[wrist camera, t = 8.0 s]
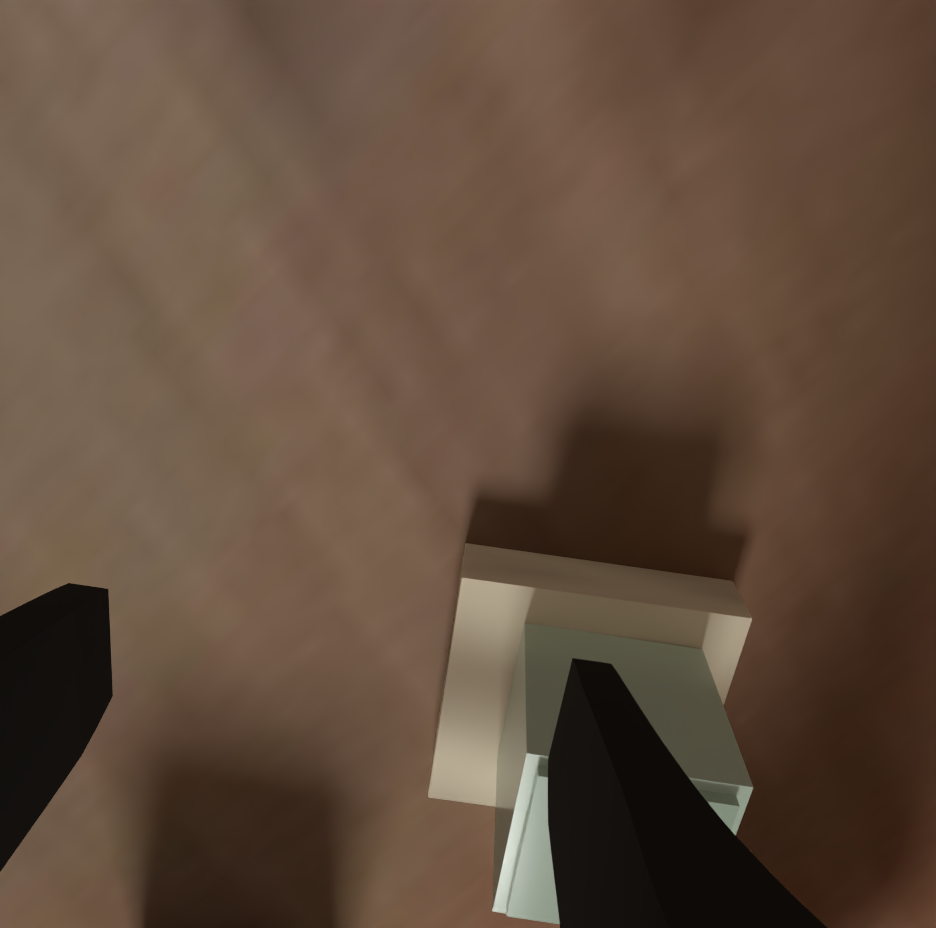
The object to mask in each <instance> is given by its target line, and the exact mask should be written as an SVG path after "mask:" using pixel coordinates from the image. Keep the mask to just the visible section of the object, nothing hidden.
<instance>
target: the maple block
mask: <svg viewBox="0 0 936 928" xmlns="http://www.w3.org/2000/svg"><path fill="white" fill-rule="evenodd" d="M751 621H752V617H751V615H750V613H749V611H748V609H747V607H746V605H745V603H744V601H743V599H742V598H741V596H740V594H739V592H738V590H737V588H736V586H735V584H734V582H733V581H730V580H723V579H716V578H708V577H701V576H694V575H687V574H680V573H673V572H666V571H659V570H652V569H645V568H638V567H631V566H624V565H617V564H610V563H603V562H596V561H589V560H581V559H574V558H567V557H560V556H553V555H546V554H539V553H532V552H525V551H518V550H511V549H504V548H497V547H490V546H483V545H476V544H469V543H465V547H464V554H463V560H462V567H461V574H460V580H459V587H458V593H457V600H456V606H455V613H454V619H453V626H452V632H451V639H450V645H449V652H448V658H447V665H446V672H445V678H444V685H443V691H442V698H441V704H440V711H439V717H438V724H437V730H436V737H435V743H434V750H433V758H432V766H431V775H430V783H429V792H428V797H430V798H437V799H444V800H451V801H459V802H466V803H473V804H480V805H488V806H496V774H497V757H498V752H499V747H500V742H501V737H502V732H503V727H504V722H505V717H506V712H507V707H508V702H509V697H510V692H511V687H512V682H513V677H514V672H515V667H516V662H517V657H518V652H519V647H520V642H521V637H522V632H523V627H524V623H531V624H538V625H545V626H552V627H558V628H565V629H571V630H578V631H585V632H591V633H598V634H605V635H611V636H618V637H624V638H631V639H638V640H644V641H651V642H658V643H664V644H671V645H677V646H684V647H691V648H697V649H703V652H704V655H705V657H706V660H707V663H708V665H709V668H710V671H711V674H712V676H713V679H714V682H715V684H716V687H717V690H718V693H719V695H720V698H721V701H722V703H723V705H724V702H725V699H726V696H727V693H728V690H729V687H730V684H731V681H732V678H733V675H734V672H735V669H736V666H737V663H738V660H739V657H740V654H741V651H742V648H743V645H744V642H745V639H746V636H747V633H748V630H749V627H750V624H751Z"/></svg>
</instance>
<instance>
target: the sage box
mask: <svg viewBox="0 0 936 928" xmlns="http://www.w3.org/2000/svg"><path fill="white" fill-rule="evenodd" d="M572 658H576V659H583V660H590V661H597V662H603V663H610V664H612V665H613V667H614V668H615V669H616V671H617V672H618V674H619V675H620V677H621V679H622V680H623V682H624V683H625V685H626V686H627V688H628V690H629V691H630V693H631V694H632V696H633V697H634V699H635V701H636V702H637V704H638V705H639V707H640V708H641V710H642V711H643V713H644V714H645V716H646V717H647V719H648V721H649V722H650V724H651V725H652V727H653V728H654V730H655V731H656V733H657V734H658V735H659V737H660V738H661V740H662V741H663V743H664V744H665V746H666V747H667V748H668V750H669V751H670V753H671V754H672V755H673V757H674V758H675V760H676V761H677V762H678V764H679V765H680V767H681V768H682V769H683V771H684V772H685V774H686V775H687V776H688V778H689V779H690V780H691V782H692V783H693V784H694V786H695V787H696V788H697V790H698V791H699V792H700V793H701V795H702V796H703V797H704V798H705V800H706V801H707V802H708V803H709V805H710V806H711V807H712V808H713V809H714V811H715V812H716V813H717V814H718V816H719V817H720V818H721V819H722V820H723V822H724V823H725V824H726V825H727V826H728V827H729V829H730V830H731V831H732V832H733V833H734V834H735V836H736V833H737V830H738V828H739V825H740V822H741V820H742V817H743V814H744V812H745V809H746V806H747V804H748V801H749V798H750V795H751V793H752V790H753V785H752V782H751V779H750V777H749V774H748V771H747V768H746V766H745V763H744V760H743V758H742V755H741V752H740V749H739V747H738V744H737V741H736V739H735V736H734V733H733V730H732V728H731V725H730V722H729V720H728V717H727V714H726V712H725V709H724V706H723V703H722V701H721V698H720V695H719V693H718V690H717V687H716V684H715V682H714V679H713V676H712V674H711V671H710V668H709V665H708V663H707V660H706V657H705V655H704V652H703V649H697V648H691V647H684V646H677V645H671V644H664V643H658V642H651V641H644V640H638V639H631V638H624V637H618V636H611V635H605V634H598V633H591V632H585V631H578V630H571V629H565V628H558V627H552V626H545V625H538V624H531V623H524V627H523V632H522V637H521V642H520V647H519V652H518V657H517V662H516V667H515V672H514V677H513V682H512V687H511V692H510V697H509V702H508V707H507V712H506V717H505V722H504V727H503V732H502V737H501V742H500V747H499V752H498V757H497V774H496V806H495V838H494V871H493V903H492V911H493V912H500V913H506V916H509V917H515V918H522V919H529V920H535V921H542V922H549V923H555V924H560V921H559V913H558V905H557V896H556V888H555V880H554V872H553V863H552V854H551V846H550V837H549V827H548V757H549V753H550V749H551V745H552V741H553V736H554V732H555V728H556V724H557V720H558V716H559V712H560V708H561V703H562V699H563V695H564V691H565V687H566V683H567V679H568V674H569V670H570V666H571V662H572Z"/></svg>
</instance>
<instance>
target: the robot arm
mask: <svg viewBox="0 0 936 928" xmlns="http://www.w3.org/2000/svg"><path fill="white" fill-rule="evenodd" d="M112 696H113V693H112V669H111V645H110V621H109V597H108V589H105V588H98V587H91V586H84V585H78V584H71V583H68V584H66V585H63V586H61V587H59V588H56V589H54V590H52V591H50V592H48V593H46V594H44V595H41V596H39V597H37V598H35V599H33V600H31V601H29V602H27V603H25V604H23V605H21V606H19V607H17V608H15V609H13V610H11V611H9V612H7V613H5V614H3V615H2V616H0V871H1V870H2V869H3V867H4V866H5V864H6V863H7V861H8V860H9V859H10V857H11V856H12V854H13V853H14V852H15V850H16V849H17V847H18V846H19V844H20V843H21V842H22V840H23V839H24V837H25V836H26V835H27V833H28V832H29V830H30V829H31V827H32V826H33V825H34V823H35V822H36V820H37V819H38V818H39V816H40V815H41V813H42V812H43V810H44V809H45V808H46V806H47V805H48V803H49V802H50V801H51V799H52V798H53V796H54V795H55V793H56V792H57V790H58V789H59V788H60V786H61V785H62V783H63V782H64V780H65V779H66V777H67V776H68V775H69V773H70V772H71V770H72V769H73V767H74V766H75V764H76V763H77V761H78V760H79V758H80V757H81V755H82V754H83V752H84V750H85V748H86V746H87V744H88V743H89V741H90V739H91V737H92V735H93V733H94V732H95V730H96V728H97V726H98V724H99V722H100V720H101V718H102V716H103V714H104V712H105V710H106V708H107V706H108V704H109V702H110V700H111V698H112ZM548 827H549V837H550V846H551V854H552V863H553V872H554V880H555V888H556V896H557V905H558V913H559V921H560V928H827V927H826V926H825V925H824V924H822V923H821V922H820V921H819V920H818V919H817V918H816V917H815V916H814V915H813V914H812V913H811V912H810V911H809V910H808V909H806V908H805V907H804V906H803V905H802V904H801V903H800V902H799V901H798V900H797V899H796V898H795V897H794V896H793V895H792V894H791V893H790V892H789V891H788V890H787V889H786V888H785V887H784V886H783V885H782V884H781V883H780V882H779V881H778V880H777V879H776V878H775V877H774V876H773V875H772V874H771V873H770V872H769V871H768V870H767V869H766V868H765V867H764V866H763V865H762V864H761V863H760V861H759V860H758V859H757V858H756V857H755V856H754V855H753V854H752V853H751V852H750V851H749V850H748V849H747V847H746V846H745V845H744V844H743V843H742V842H741V841H740V840H739V839H738V838H737V837H736V836H735V834H734V833H733V832H732V831H731V830H730V829H729V827H728V826H727V825H726V824H725V823H724V822H723V820H722V819H721V818H720V817H719V816H718V814H717V813H716V812H715V811H714V809H713V808H712V807H711V806H710V805H709V803H708V802H707V801H706V800H705V798H704V797H703V796H702V795H701V793H700V792H699V791H698V790H697V788H696V787H695V786H694V784H693V783H692V782H691V780H690V779H689V778H688V776H687V775H686V774H685V772H684V771H683V769H682V768H681V767H680V765H679V764H678V762H677V761H676V760H675V758H674V757H673V755H672V754H671V753H670V751H669V750H668V748H667V747H666V746H665V744H664V743H663V741H662V740H661V738H660V737H659V735H658V734H657V733H656V731H655V730H654V728H653V727H652V725H651V724H650V722H649V721H648V719H647V717H646V716H645V714H644V713H643V711H642V710H641V708H640V707H639V705H638V704H637V702H636V701H635V699H634V697H633V696H632V694H631V693H630V691H629V690H628V688H627V686H626V685H625V683H624V682H623V680H622V679H621V677H620V675H619V674H618V672H617V671H616V669H615V668H614V667H613V665H612V664H610V663H603V662H597V661H590V660H583V659H576V658H572V662H571V666H570V670H569V674H568V679H567V683H566V687H565V691H564V695H563V699H562V703H561V708H560V712H559V716H558V720H557V724H556V728H555V732H554V736H553V741H552V745H551V749H550V753H549V757H548Z"/></svg>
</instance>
